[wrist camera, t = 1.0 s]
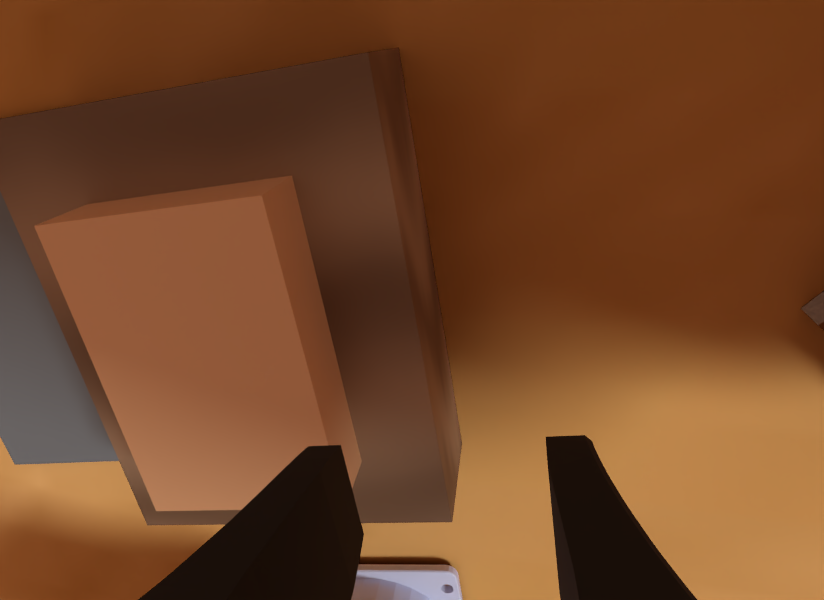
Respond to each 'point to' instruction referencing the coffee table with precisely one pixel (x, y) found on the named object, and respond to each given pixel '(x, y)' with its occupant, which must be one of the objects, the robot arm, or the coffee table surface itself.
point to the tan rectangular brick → (205, 336)
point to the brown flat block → (325, 228)
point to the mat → (40, 370)
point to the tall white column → (816, 310)
